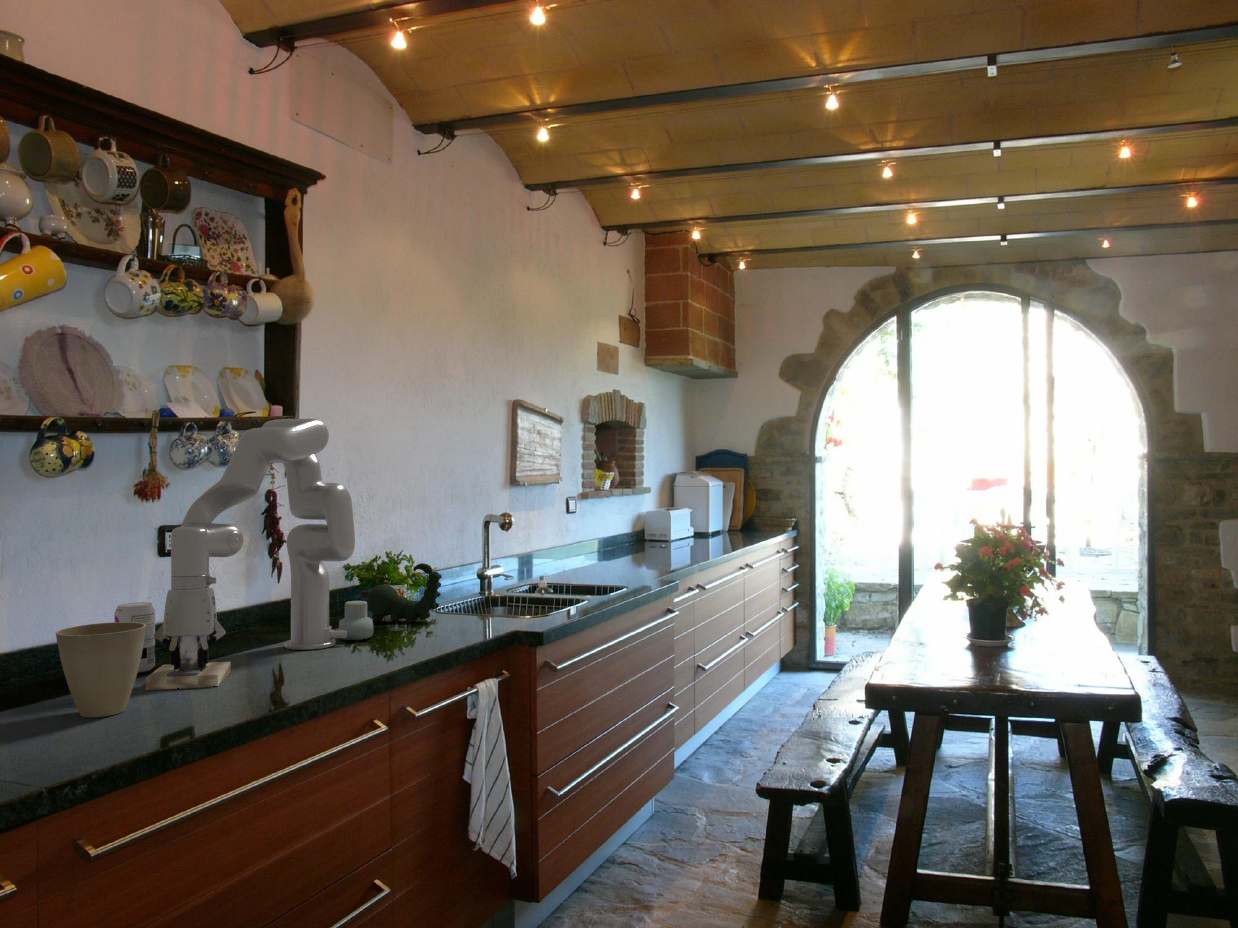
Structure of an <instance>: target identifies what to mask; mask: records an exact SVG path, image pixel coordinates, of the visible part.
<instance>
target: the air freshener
mask: <svg viewBox="0 0 1238 928" xmlns="http://www.w3.org/2000/svg"><path fill="white" fill-rule="evenodd" d="M373 621H374V620H373V619H372V617H368V606H367V600H366V601H365V600H352V601H346V602H345V603H344V617H343V618H341V619H339V622H338V630H343V631H345V630H347V638H341V639H343V640H344V641H347V640H356V641H364V640H363V639H365V640H368V639H369V638H371V637H372V636H373V635H374V622H373Z"/></svg>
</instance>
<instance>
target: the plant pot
mask: <svg viewBox="0 0 1238 928" xmlns="http://www.w3.org/2000/svg"><path fill="white" fill-rule="evenodd" d="M145 630H146V624H144V623H137V622H115V621H114V622H100V623H89V624H83V625H76V626H71V627H65V628H62V629H60V630H59V629H58V630H57V631H55V636H56V642H57V648H58V652H59V653H58V654H59V658H60V663H61V666H62V669H63V673H64V677H65V680H66V683H67V686H68V687H67V688H68V689H69V692H70V694H71V697H72V700H73V703H74V704H75V707H76V708H77V712H78V713H79V715H80V716H81V717H83V718H102V717H110V716H115V715H117V714H121V713H122V712H125V710H126V708H127V705H128V704H129V700H130V698H131V694H132V693H133V688H134V685H135V682H136V679H137V676H138V673H137V672H138V668H139V664H140V660H141V655H142V650H143V644H144V637H145Z"/></svg>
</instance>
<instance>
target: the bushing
mask: <svg viewBox="0 0 1238 928" xmlns="http://www.w3.org/2000/svg"><path fill="white" fill-rule="evenodd" d="M201 647H202V645H201V641H200V637H199V636H180V637H179V638H178V671H195V670H200V672H201V671H202V668H200V650H201Z"/></svg>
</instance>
